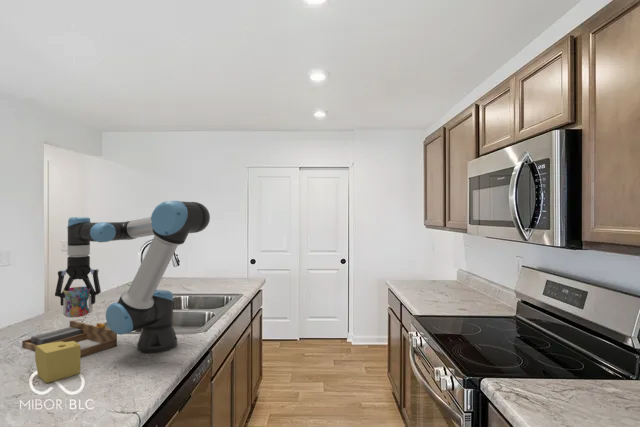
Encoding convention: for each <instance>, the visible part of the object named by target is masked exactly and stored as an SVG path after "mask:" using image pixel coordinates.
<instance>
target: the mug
mask: <svg viewBox="0 0 640 427" xmlns="http://www.w3.org/2000/svg"><path fill="white" fill-rule="evenodd" d="M63 289H64V288H63ZM63 289H62V291H63V292H64V294H65V297H66V300H67V308H66V312H65V314H64V315H63V316H65V318H79V317H84V316H86V315H88V314H90V313H89V311H88V310H89V305H88V301H89V296H90V293H89V291H90V289H91V288H89V289H87V287H86V286H73V287H70V288H69V289H68V291H65V289H64V290H63Z"/></svg>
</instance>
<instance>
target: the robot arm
mask: <svg viewBox="0 0 640 427" xmlns="http://www.w3.org/2000/svg"><path fill="white" fill-rule="evenodd" d="M210 220H211V214H210V212H209V209H208V208H207V207H206V206H205V205H204V204H202V203H200V202H197V201H196V202H195V201H180V200H167V201H163V202H161V203H159V204H158V205H156V206H155V207H154V209H153V211H152V213H151V216H149V217H142V218H138V219H137V218H136V219H132V220H127V221H117V222H115V221H114V222H113V221H111V222H110V221H109V222H105V221H104V222H102V221H101V222H91V218H90V217H87V216H86V217H85V216H84V217H83V216H76V217H69V218H68V220H67V226H66V229H67V254H66V255H67V256H68V257H67V265H66V266H67V268H65V269H64V270H59V271H57V275H58V278H57V284H56V288H55V292H54V297H59V298H60V306H61V307H62V306H63V308H62V314H63V316H64V314H65V312H66V308H67V300H66V296H65V294H64V292H63V290H64V289H65V291H68V289H69V288H71V286H72V284H73V282H74V280H75V281H77V280H82V281H83V282H84V284H85V287H87V289H89V288H91V289H90V291H89V293H90V296H89V298H88V309H89V310H88V311H89V313H88V314H91V313H92V312H93V309H94V308H93V306H94V305H95V304H96V297H97V295H99V294H101V293H102V292H101V285H100V279H99V275H98V274H99V271H100V270H99V269H98V268H97V269H93V268H92V267H91V256H89V255H90V254H91V242H94V243H95V242H96V243H97V242H98V243H108V242H115V241H125V240H126V241H130V240H134V239H139V238H143V237H150V236H153V238H152V240H151V243H150V245H149V246H148V249H147V251H146V253H145V255H144V257H143V259H142V261H141V263H140V266H139V267H138V270H137V272H136V274H135V276H134V278H133V280H132V282H131V285H130V286H129V288H128V289H125V290H124V291H123V292H122V293H121V295H120V297H119V299H118V301H117V302H113V303H111V304H110V305H109V306H108V307H107V309H106V311H105V320H106V324H107V326H108V327H109V328H108V329H111V330H112V331H113V332H114V333H116V334H117V335H125V334H129V333H132V332H134V331H137V330H140V329H141V330H140V334H139V337H138V341H137V342H136V343H137V344H136V350H137V351H138V352H140V354H141V353H143V354H159V353H163V352H164V353H165V352H167V351H170V350H173V349H175V348H177V346H178V337H177V334H176V331H175V329H174V297H173V296H174V294H173V292H172V291H170V290H165V289H158V286H159V284H160V283H161V280H162V279H163V276H164V274H165V272H166V270H167V268H168V267H169V264H170V262H171V260H172V258H173V256H174V254H175V253H176V251H177V248H178V246H181V245H183V244H184V243H186V240H187V237H188V235H189V234H196V233H200V232H203V231H204V230H205V229H206V228H207V227H208V226H209V223H210ZM90 273H91V275H92V279H93V284H92V282H91V281H90V278H89V274H90ZM66 274H67V275H68V276H69V277H68V279H67V281H66V284H65V285H64V288H63V284H64V281H65V280H64V279H65V275H66ZM62 288H63V289H62Z"/></svg>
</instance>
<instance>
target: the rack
mask: <svg viewBox="0 0 640 427" xmlns="http://www.w3.org/2000/svg"><path fill="white" fill-rule="evenodd" d="M84 340H89V341H93V342H96V343H97V342H98V343H97V344H95V345H92V346H89V347H85V348H83V349H82V348H81V355H80V358H83V357H86V356H89V355H92V354H95V353H99V352H102V351H105V350H107V349H111V348H113V347H117V346H118V334H116V333H114V332H113V331H112V330H111V329H110V328H106V324H105V323H101V322H97V323H96V325H93V324H89V323H85V322H80V321H77V320H69V326H67V327H64V328H61V329H56V330H51V331H49V332H44V333H41V334H37V335H32V336H30V338H28V339H24V340H22V341H21V342H22V343H21V344H22V346H21V347H22V348H24V349H26V350H27V349H28V350H29V351H34V352H36V346H38V345H41V344H47V343H53V342H60V341H62V342H70V341H75V342H77V343H78V342H81V341H82V342H83V341H84Z"/></svg>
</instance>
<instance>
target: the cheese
mask: <svg viewBox="0 0 640 427" xmlns="http://www.w3.org/2000/svg"><path fill="white" fill-rule="evenodd" d="M81 350H82V348H81V344H80V343H78V342H75V341H70V342H62V341H60V342H53V343H47V344H41V345H38V346H36V351H34V352H35V353H34V357H35V366H36V371H37V376H38V377H39V378H40V379H41V380H42V381H43V382H44V383H45V384H48V383H52V382H54V381H56V382H57V381H59V380H63V379H66V378H68V377H72V376H76V375H79V374H81V357H80V355H81Z"/></svg>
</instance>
